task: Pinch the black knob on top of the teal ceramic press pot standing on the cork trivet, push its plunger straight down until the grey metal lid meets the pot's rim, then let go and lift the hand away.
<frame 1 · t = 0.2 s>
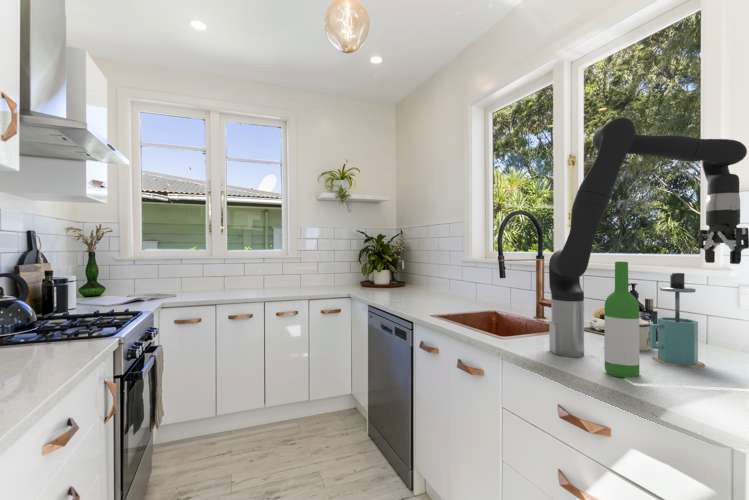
hand: (722, 263, 111), 29 cm above the counter, tool pointing down, fingers open, 8 cm apart
trivet: (677, 363, 107), on the counter
plunger: (677, 298, 107), point 19 cm above the counter, slide at 8.0 cm
teacup with lid: (631, 348, 125), on the counter
press pot: (677, 361, 107), resting on trivet
wine bottle: (621, 375, 98), on the counter
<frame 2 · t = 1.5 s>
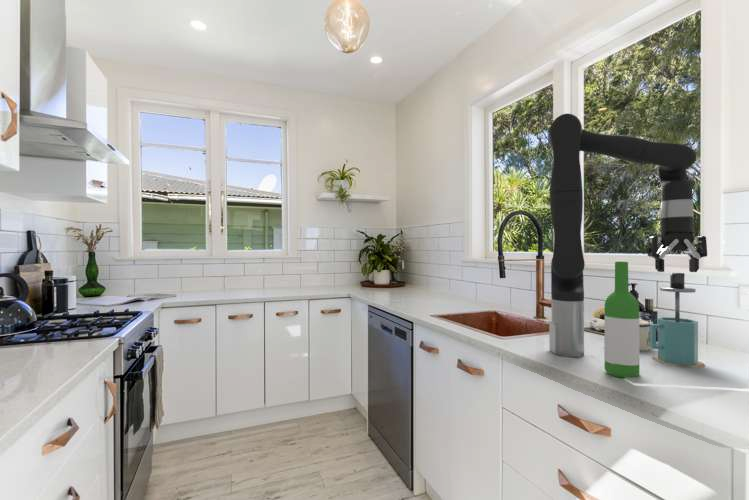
hand: (676, 271, 107), 27 cm above the counter, tool pointing down, fingers open, 8 cm apart
nothing on the counter moved.
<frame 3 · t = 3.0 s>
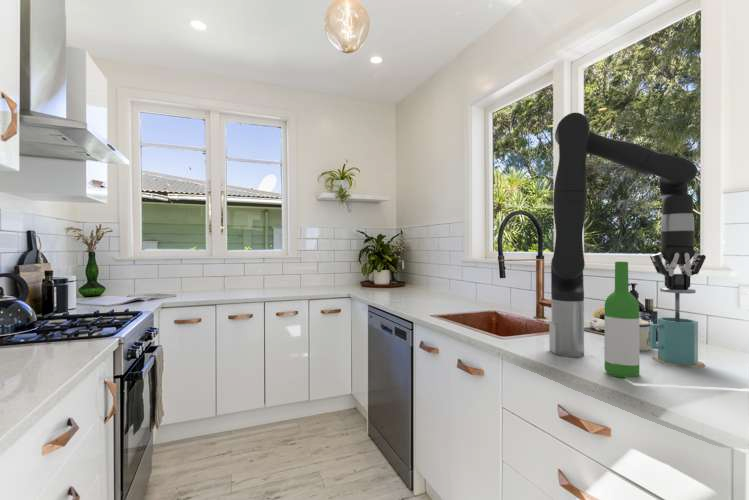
hand: (677, 288, 107), 22 cm above the counter, tool pointing down, fingers closed on plunger, 3 cm apart
plunger: (677, 299, 107), point 18 cm above the counter, slide at 7.7 cm, touching gripper
everything else where it was.
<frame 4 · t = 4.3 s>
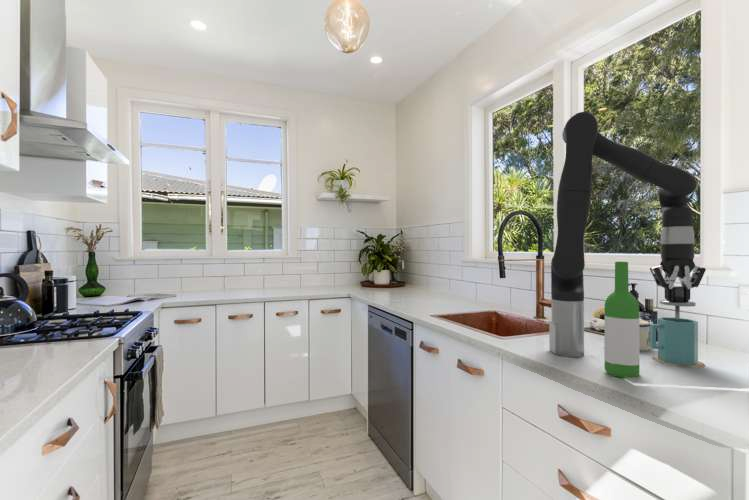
hand: (677, 301, 107), 18 cm above the counter, tool pointing down, fingers closed on plunger, 3 cm apart
plunger: (677, 312, 107), point 15 cm above the counter, slide at 4.1 cm, touching gripper
everything else where it was.
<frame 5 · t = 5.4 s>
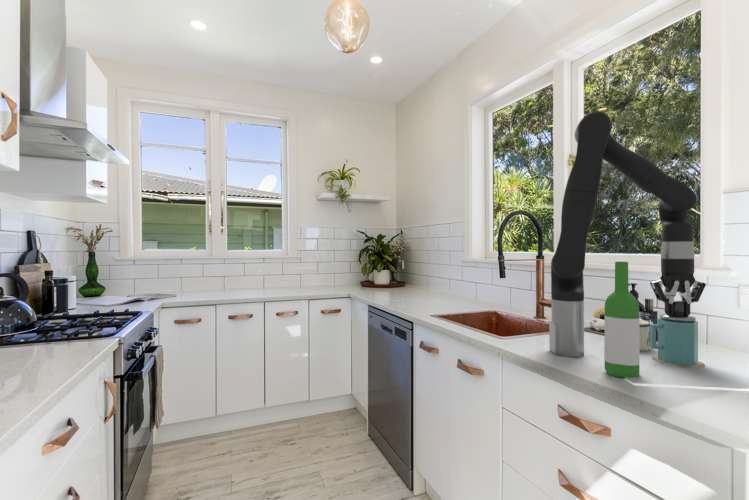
hand: (677, 316, 107), 14 cm above the counter, tool pointing down, fingers closed on plunger, 3 cm apart
plunger: (677, 327, 107), point 11 cm above the counter, slide at -0.2 cm, touching gripper
everything else where it was.
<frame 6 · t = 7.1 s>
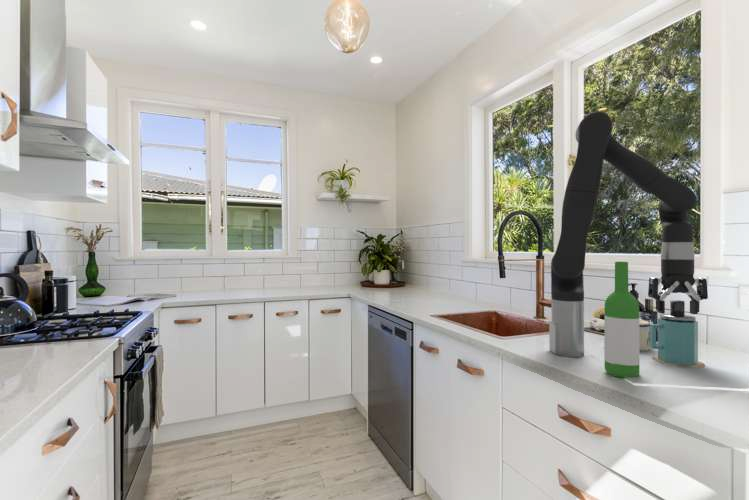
hand: (677, 313, 107), 15 cm above the counter, tool pointing down, fingers open, 8 cm apart
plunger: (677, 326, 107), point 11 cm above the counter, slide at -0.1 cm
everything else where it was.
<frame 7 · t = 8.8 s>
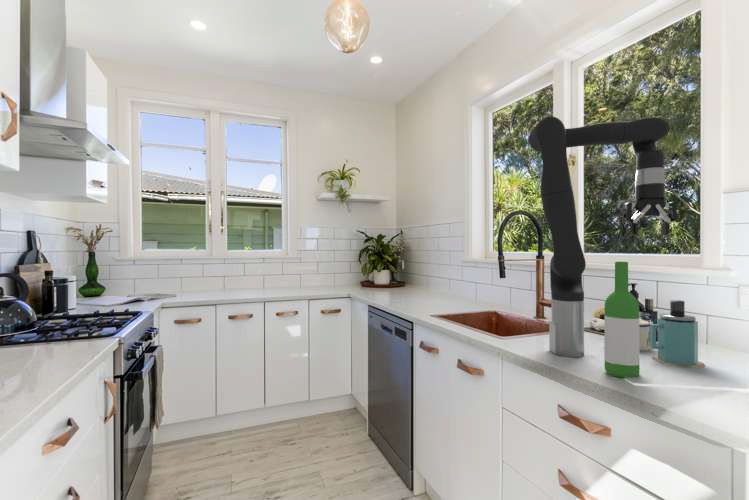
hand: (649, 235, 116), 38 cm above the counter, tool pointing down, fingers open, 8 cm apart
nothing on the counter moved.
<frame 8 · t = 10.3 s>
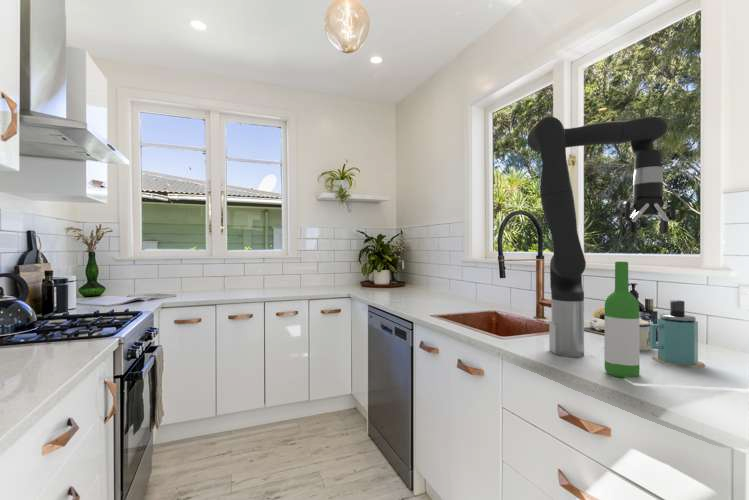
hand: (648, 234, 117), 38 cm above the counter, tool pointing down, fingers open, 8 cm apart
nothing on the counter moved.
at the end: plunger slide at -0.1 cm; the gripper is holding nothing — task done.
